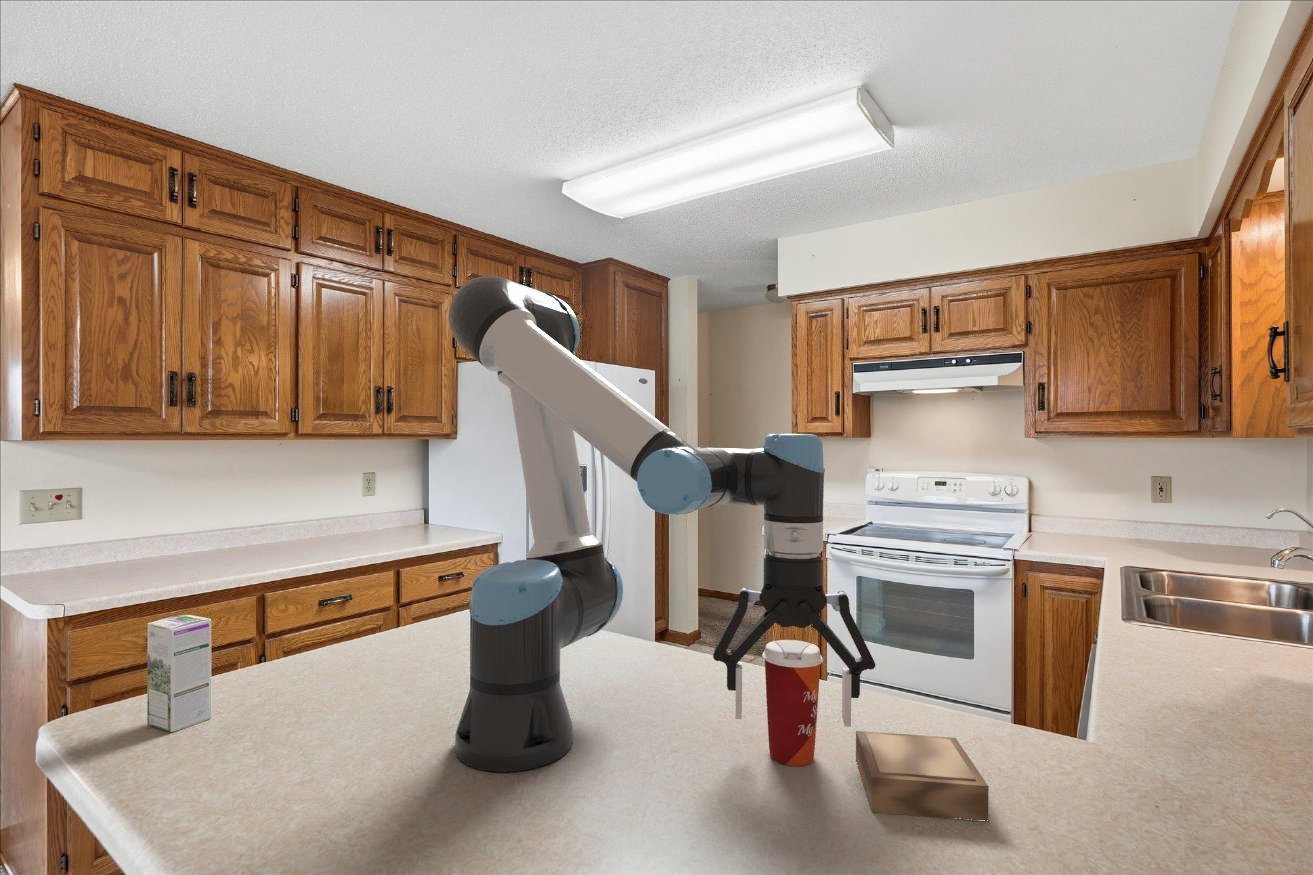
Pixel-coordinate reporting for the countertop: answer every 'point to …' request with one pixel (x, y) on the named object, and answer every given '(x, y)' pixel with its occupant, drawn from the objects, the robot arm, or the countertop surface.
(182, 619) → the syrup box
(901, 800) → the plinth
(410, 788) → the countertop surface
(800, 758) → the paper cup
